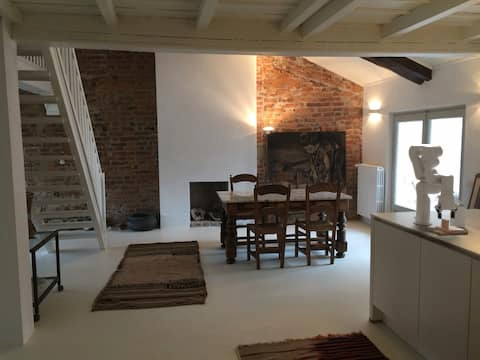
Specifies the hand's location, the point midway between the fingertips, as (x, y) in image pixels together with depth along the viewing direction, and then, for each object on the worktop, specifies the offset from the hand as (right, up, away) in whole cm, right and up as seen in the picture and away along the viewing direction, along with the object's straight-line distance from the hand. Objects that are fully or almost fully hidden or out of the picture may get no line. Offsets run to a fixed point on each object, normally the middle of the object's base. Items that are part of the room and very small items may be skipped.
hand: (446, 218), depth 273 cm
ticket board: (+1, -9, +2) cm, 10 cm away
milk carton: (+17, -8, +19) cm, 27 cm away
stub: (0, -8, +2) cm, 8 cm away
